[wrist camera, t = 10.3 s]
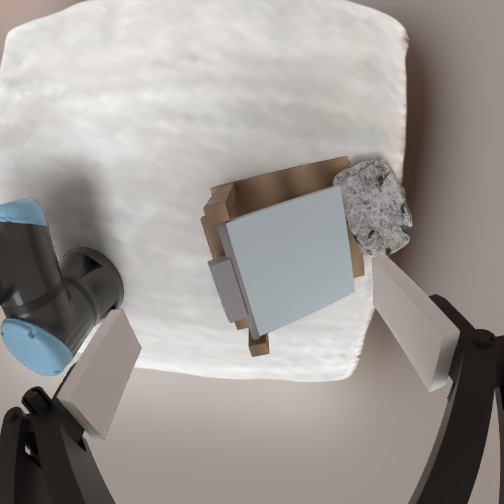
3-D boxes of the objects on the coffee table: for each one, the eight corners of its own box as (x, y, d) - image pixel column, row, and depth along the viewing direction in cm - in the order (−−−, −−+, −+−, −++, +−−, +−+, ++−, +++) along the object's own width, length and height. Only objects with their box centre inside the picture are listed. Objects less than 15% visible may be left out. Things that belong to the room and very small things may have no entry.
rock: (360, 264, 45) (363, 246, 51) (420, 248, 40) (416, 231, 45) (327, 176, 41) (333, 169, 47) (391, 154, 36) (388, 149, 42)
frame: (243, 302, 53) (240, 359, 39) (208, 188, 46) (188, 212, 31) (362, 273, 51) (396, 320, 37) (345, 156, 44) (386, 166, 29)
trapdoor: (235, 341, 39) (239, 348, 38) (196, 227, 33) (198, 231, 32) (349, 289, 44) (356, 294, 42) (333, 183, 38) (341, 184, 36)
